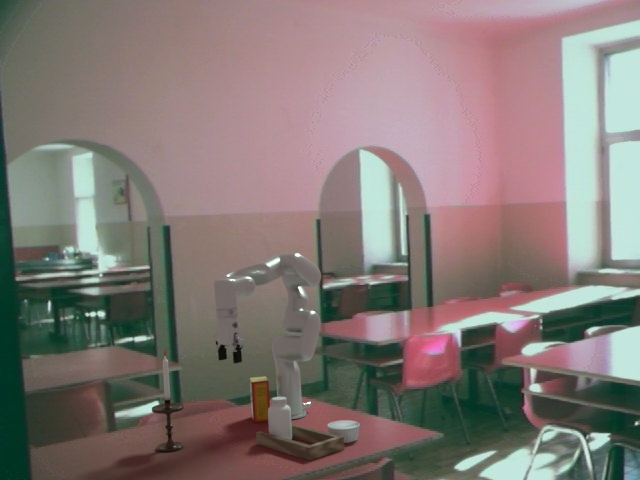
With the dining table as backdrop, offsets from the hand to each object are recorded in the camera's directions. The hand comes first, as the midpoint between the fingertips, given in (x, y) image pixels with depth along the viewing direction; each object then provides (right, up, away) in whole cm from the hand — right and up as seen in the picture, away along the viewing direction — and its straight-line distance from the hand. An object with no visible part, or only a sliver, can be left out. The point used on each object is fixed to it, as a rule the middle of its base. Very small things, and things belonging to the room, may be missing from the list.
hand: (230, 361), depth 253 cm
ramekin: (+40, -26, -8) cm, 48 cm away
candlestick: (-20, -29, -7) cm, 36 cm away
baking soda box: (+9, -27, +25) cm, 38 cm away
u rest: (+25, -26, -14) cm, 39 cm away
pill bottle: (+18, -27, -6) cm, 33 cm away
